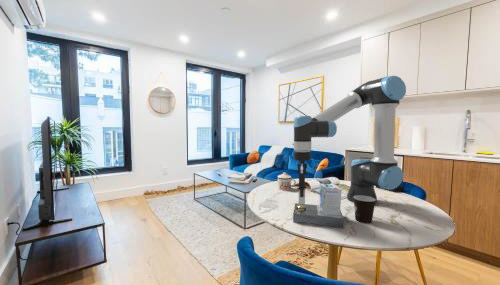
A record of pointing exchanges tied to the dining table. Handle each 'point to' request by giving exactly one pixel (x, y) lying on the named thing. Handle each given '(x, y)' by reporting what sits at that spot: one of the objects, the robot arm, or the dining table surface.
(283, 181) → the teacup with lid
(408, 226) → the dining table surface
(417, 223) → the dining table surface
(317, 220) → the plate
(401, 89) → the robot arm
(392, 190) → the battery charger
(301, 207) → the press pin
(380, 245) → the dining table surface
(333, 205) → the light bulb box
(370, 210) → the coffee mug
